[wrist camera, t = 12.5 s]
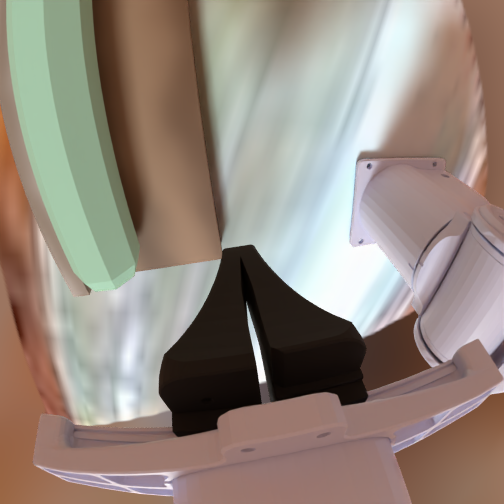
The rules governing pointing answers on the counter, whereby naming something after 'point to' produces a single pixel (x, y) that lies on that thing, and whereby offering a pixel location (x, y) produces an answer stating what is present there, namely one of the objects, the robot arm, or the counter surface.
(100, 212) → the container
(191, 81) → the shelf
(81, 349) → the counter surface
